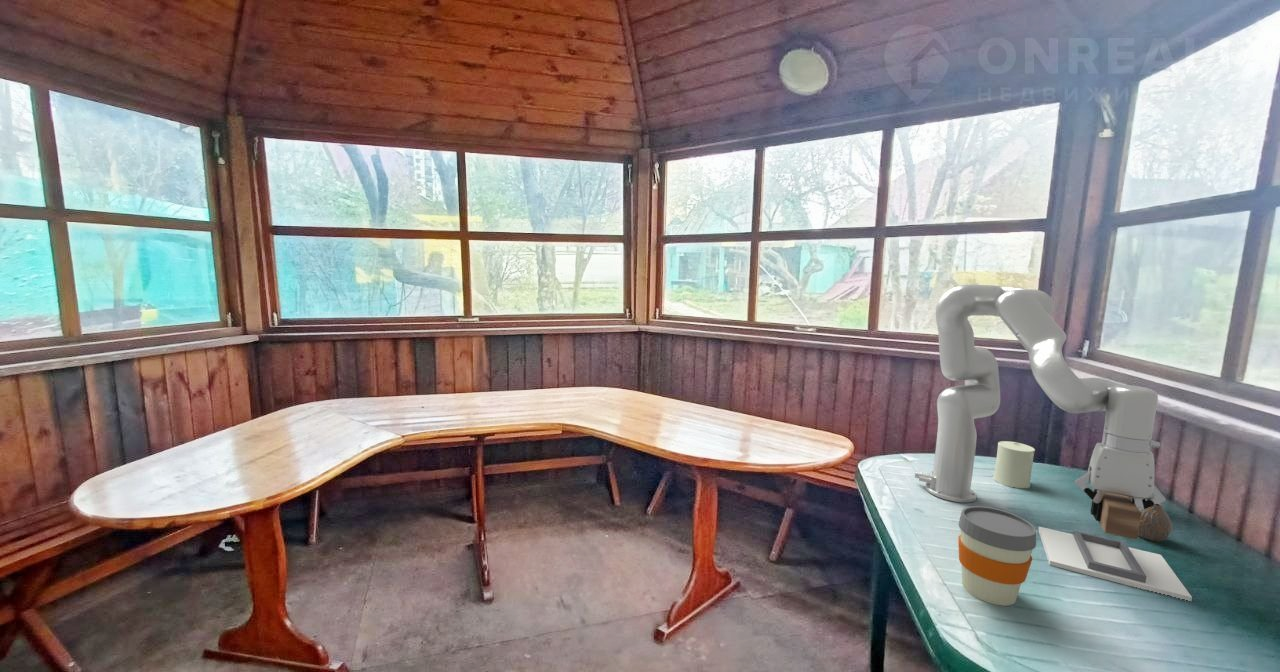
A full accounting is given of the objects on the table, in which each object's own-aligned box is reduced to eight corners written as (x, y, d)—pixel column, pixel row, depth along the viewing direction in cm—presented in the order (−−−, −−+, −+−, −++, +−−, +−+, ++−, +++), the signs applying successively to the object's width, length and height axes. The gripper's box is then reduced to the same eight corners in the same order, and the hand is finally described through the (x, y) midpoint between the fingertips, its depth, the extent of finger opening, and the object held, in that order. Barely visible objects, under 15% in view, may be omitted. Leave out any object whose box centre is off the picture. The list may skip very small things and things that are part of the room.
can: (1028, 480, 157) (1033, 443, 155) (1031, 491, 149) (1037, 452, 148) (992, 473, 162) (997, 437, 160) (994, 483, 154) (998, 445, 153)
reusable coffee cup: (956, 564, 110) (964, 499, 108) (1028, 589, 102) (1038, 519, 100) (946, 592, 100) (955, 521, 98) (1025, 621, 93) (1037, 545, 91)
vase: (1177, 546, 120) (1183, 512, 119) (1143, 542, 122) (1149, 508, 121) (1154, 532, 127) (1160, 499, 126) (1122, 528, 128) (1128, 495, 127)
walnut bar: (1092, 511, 118) (1095, 486, 117) (1120, 517, 115) (1124, 492, 114) (1104, 533, 108) (1109, 506, 107) (1136, 540, 105) (1141, 512, 104)
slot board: (1049, 564, 111) (1051, 554, 111) (1038, 530, 126) (1039, 520, 126) (1191, 601, 100) (1193, 590, 99) (1160, 558, 115) (1161, 548, 114)
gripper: (1174, 445, 108) (1161, 526, 110) (1071, 430, 117) (1060, 505, 119) (1188, 456, 102) (1173, 541, 104) (1077, 439, 110) (1066, 518, 113)
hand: (1113, 521), depth 111 cm, fingers closed on walnut bar, 5 cm apart
